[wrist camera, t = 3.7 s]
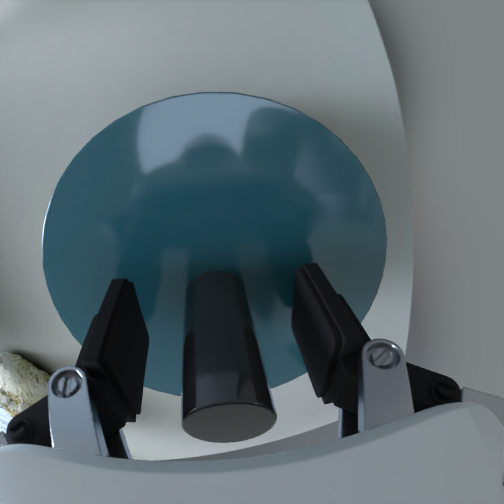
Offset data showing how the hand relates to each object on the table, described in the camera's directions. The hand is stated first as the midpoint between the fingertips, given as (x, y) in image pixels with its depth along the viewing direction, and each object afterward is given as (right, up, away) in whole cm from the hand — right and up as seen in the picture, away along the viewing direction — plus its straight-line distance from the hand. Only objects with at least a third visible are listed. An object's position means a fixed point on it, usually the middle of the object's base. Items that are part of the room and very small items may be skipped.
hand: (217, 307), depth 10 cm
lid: (0, +1, +1) cm, 1 cm away
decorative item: (-27, -14, +16) cm, 35 cm away
